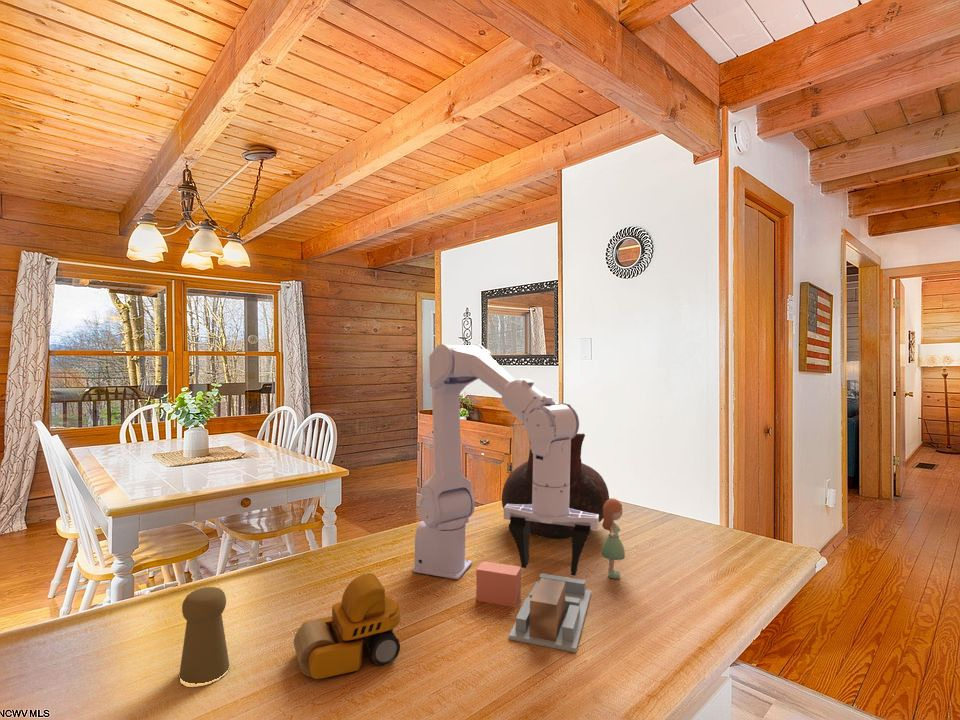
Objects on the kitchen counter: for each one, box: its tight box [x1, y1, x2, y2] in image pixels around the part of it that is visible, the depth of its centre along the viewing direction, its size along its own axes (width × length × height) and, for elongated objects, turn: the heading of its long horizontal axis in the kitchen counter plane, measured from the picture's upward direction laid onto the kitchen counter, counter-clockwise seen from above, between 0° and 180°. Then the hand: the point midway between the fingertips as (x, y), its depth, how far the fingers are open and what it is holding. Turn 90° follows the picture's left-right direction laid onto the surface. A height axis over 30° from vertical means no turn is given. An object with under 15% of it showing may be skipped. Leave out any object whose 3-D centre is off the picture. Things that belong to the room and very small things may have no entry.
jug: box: [501, 433, 610, 540], centre depth 125 cm, size 25×25×25 cm
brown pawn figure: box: [178, 586, 230, 684], centre depth 70 cm, size 6×6×11 cm
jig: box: [508, 572, 592, 653], centre depth 87 cm, size 10×19×3 cm, turn 161°
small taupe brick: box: [529, 578, 566, 642], centre depth 82 cm, size 4×8×6 cm, turn 161°
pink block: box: [475, 561, 522, 608], centre depth 92 cm, size 7×4×6 cm, turn 72°
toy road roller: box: [293, 572, 402, 680], centre depth 75 cm, size 9×14×10 cm, turn 118°
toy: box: [600, 497, 626, 579], centre depth 101 cm, size 13×4×15 cm, turn 168°
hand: (549, 569), depth 82 cm, fingers open, 7 cm apart
